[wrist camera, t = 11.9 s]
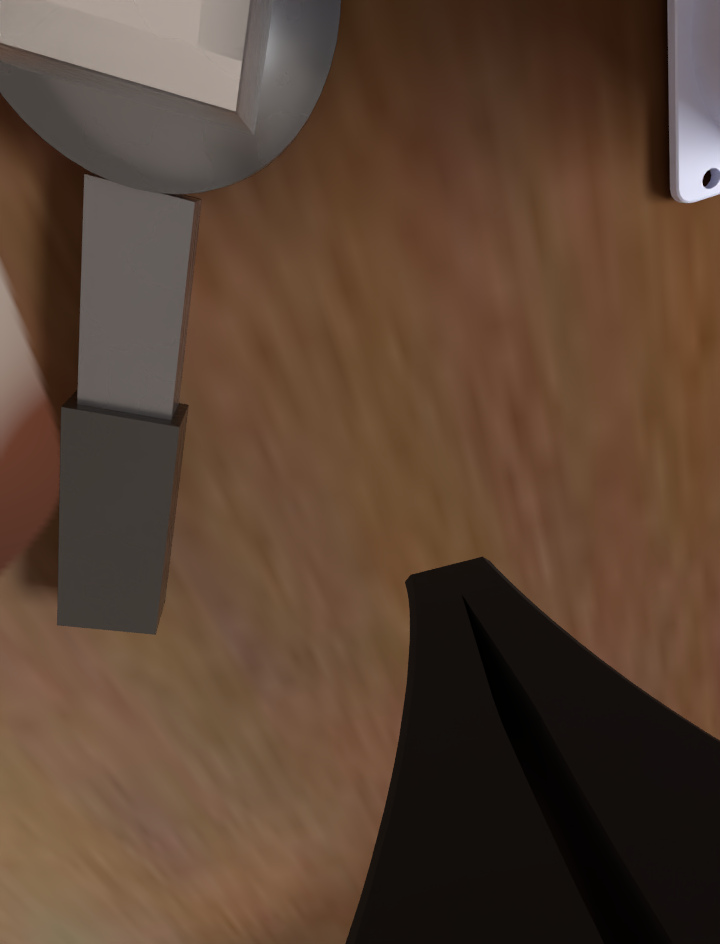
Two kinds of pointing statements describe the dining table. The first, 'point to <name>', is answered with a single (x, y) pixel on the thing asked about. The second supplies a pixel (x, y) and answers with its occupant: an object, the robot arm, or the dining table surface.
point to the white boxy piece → (148, 51)
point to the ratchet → (146, 304)
